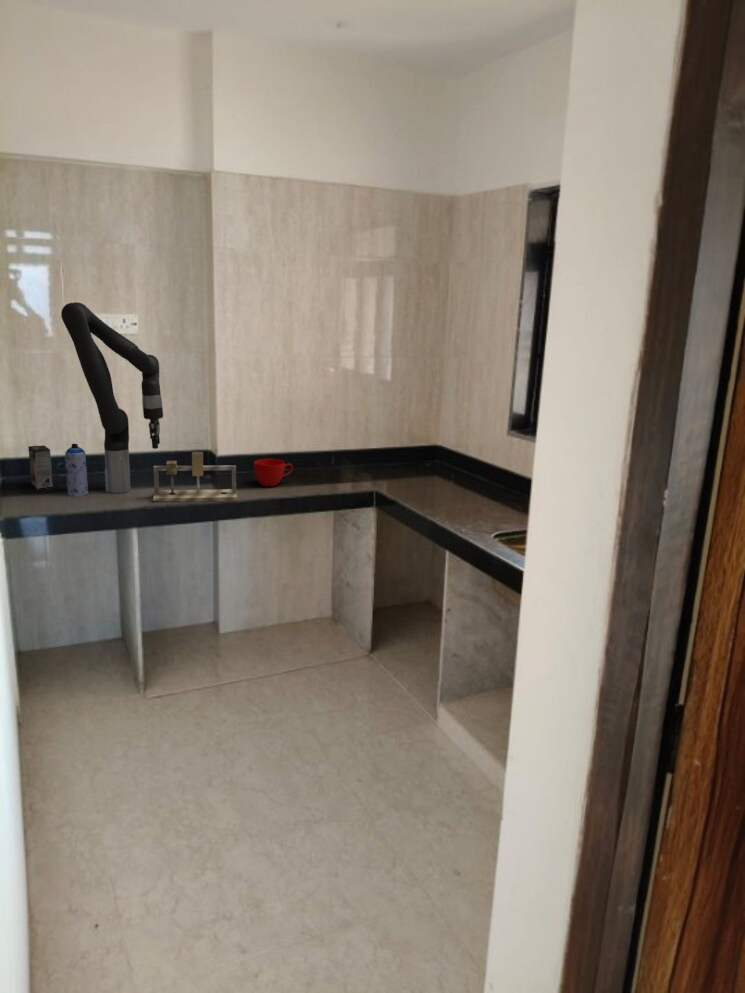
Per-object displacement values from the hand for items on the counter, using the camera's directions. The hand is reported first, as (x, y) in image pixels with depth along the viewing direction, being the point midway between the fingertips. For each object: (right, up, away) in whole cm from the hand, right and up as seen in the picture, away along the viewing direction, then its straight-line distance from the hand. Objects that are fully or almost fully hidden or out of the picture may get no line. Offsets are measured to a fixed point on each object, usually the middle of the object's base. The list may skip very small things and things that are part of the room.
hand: (156, 446), depth 301 cm
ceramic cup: (+44, -15, +22) cm, 52 cm away
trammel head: (+18, -18, -3) cm, 26 cm away
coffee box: (-48, -16, +5) cm, 51 cm away
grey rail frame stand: (+17, -21, -2) cm, 27 cm away
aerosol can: (-30, -19, -4) cm, 36 cm away
